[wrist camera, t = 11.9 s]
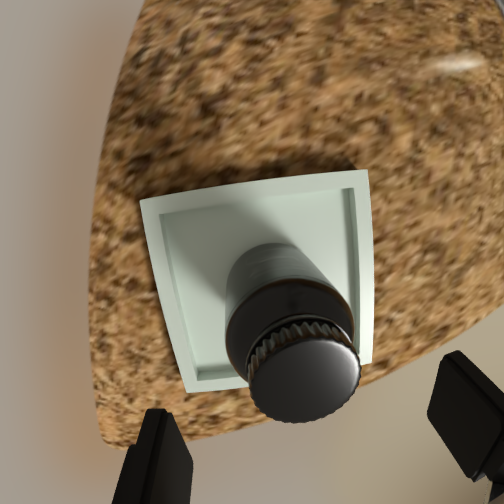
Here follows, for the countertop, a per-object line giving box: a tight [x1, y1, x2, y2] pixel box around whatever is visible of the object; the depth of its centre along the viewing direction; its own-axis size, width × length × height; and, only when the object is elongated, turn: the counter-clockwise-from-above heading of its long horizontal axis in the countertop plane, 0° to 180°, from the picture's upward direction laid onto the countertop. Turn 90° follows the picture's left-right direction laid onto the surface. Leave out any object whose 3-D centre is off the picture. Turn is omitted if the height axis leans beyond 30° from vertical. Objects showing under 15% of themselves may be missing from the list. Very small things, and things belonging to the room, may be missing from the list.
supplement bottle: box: [225, 243, 362, 423], centre depth 17 cm, size 7×7×12 cm
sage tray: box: [140, 169, 374, 393], centre depth 23 cm, size 16×16×2 cm
